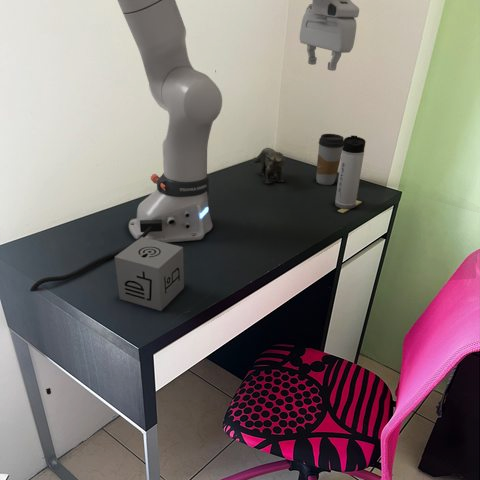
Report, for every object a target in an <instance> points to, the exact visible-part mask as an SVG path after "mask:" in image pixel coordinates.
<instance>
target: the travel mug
mask: <svg viewBox="0 0 480 480" xmlns="http://www.w3.org/2000/svg"><path fill="white" fill-rule="evenodd" d="M366 142H367V141H366V139H365V138H362V137H360V136H357V135H350V136H347V137H345V138H344V143H343V149H342V154H341V159H340V163H339V169H338V171H339V172H338V179H337V185H336V193H335V201H334V206H335V207H337V208H339V209H341V208H342V209H349V210H351V209H354V208H356V206H357V205H356V200H357V199H358V194H359V193H358V192H359V185H360V182H361V181H360V180H361V173H362V167H363V163H364V161H363V160H364V156H365V147H366ZM355 205H356V206H355Z"/></svg>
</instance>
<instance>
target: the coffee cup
mask: <svg viewBox="0 0 480 480" xmlns="http://www.w3.org/2000/svg"><path fill="white" fill-rule="evenodd" d="M318 139H319V140H318V153H317V163H316V183H318V184H319V185H323V186H324V185H325V186H331V185H333V184H335V182H336V179H337V174H338V173H339V172H338V171H339V169H340V163H341V156H342V149H343V143H344V139H345V138H344V136H343V135H340V134H336V133H323V134H321V135H320V137H319V138H318Z"/></svg>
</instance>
